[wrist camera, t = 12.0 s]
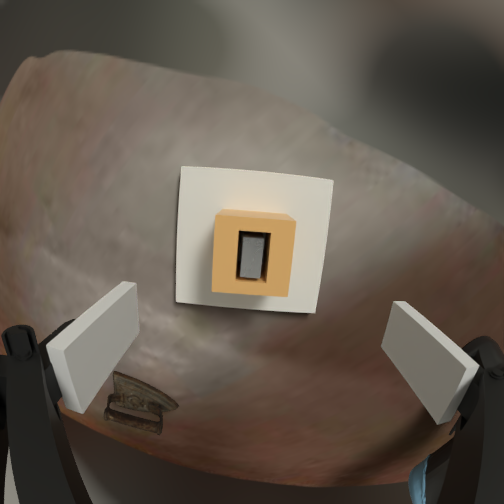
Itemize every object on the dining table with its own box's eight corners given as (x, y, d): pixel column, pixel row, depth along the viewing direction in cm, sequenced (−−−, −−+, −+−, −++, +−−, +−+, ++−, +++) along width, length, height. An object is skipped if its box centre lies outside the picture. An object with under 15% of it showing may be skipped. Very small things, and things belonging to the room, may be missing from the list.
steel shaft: (258, 259, 33) (260, 278, 26) (242, 257, 32) (240, 276, 26) (261, 227, 32) (264, 238, 25) (244, 226, 32) (243, 237, 25)
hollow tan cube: (222, 208, 31) (215, 214, 24) (286, 213, 31) (296, 221, 25) (219, 270, 33) (211, 291, 26) (280, 274, 33) (287, 297, 26)
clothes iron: (110, 367, 39) (99, 406, 29) (179, 377, 42) (183, 417, 32) (112, 399, 39) (104, 439, 30) (176, 408, 43) (180, 448, 33)
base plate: (312, 308, 36) (314, 313, 34) (178, 297, 35) (175, 301, 34) (329, 180, 32) (333, 180, 31) (184, 167, 32) (181, 166, 30)
